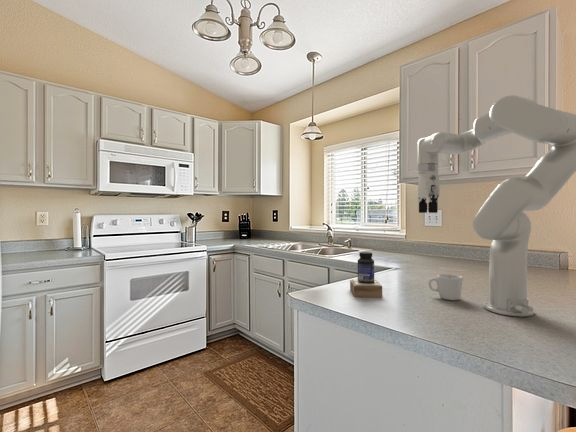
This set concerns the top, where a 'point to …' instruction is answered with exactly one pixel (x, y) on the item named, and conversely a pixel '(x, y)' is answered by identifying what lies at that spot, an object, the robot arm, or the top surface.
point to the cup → (448, 286)
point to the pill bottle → (365, 268)
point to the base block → (365, 289)
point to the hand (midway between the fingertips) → (427, 212)
